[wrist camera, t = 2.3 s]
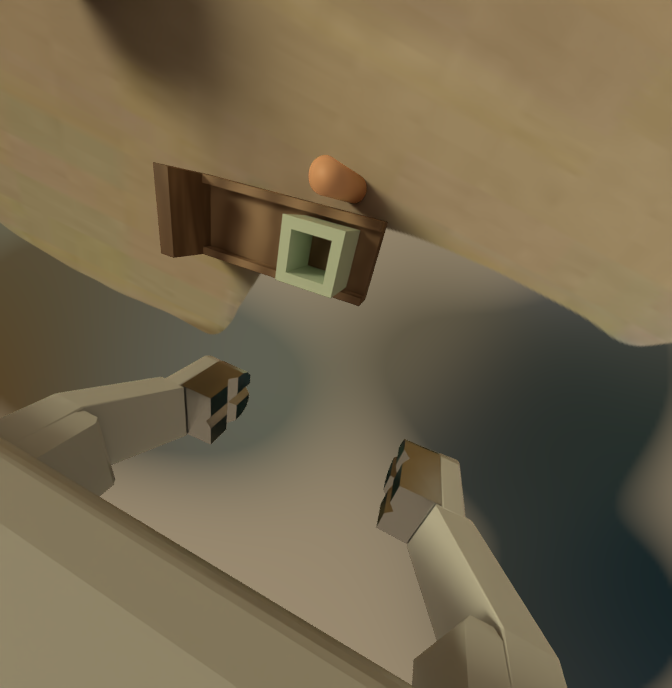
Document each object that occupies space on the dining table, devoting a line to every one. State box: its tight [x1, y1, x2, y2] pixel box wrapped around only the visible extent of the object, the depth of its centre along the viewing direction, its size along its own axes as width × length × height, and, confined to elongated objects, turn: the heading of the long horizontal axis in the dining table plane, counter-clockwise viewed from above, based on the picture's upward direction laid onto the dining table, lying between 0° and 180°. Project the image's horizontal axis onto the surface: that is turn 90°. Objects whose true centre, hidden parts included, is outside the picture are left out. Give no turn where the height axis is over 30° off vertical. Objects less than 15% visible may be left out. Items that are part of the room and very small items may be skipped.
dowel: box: [309, 155, 367, 203], centre depth 27 cm, size 3×3×10 cm
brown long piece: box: [153, 162, 388, 306], centre depth 33 cm, size 26×10×8 cm, turn 76°
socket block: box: [275, 214, 360, 298], centre depth 31 cm, size 7×7×6 cm
